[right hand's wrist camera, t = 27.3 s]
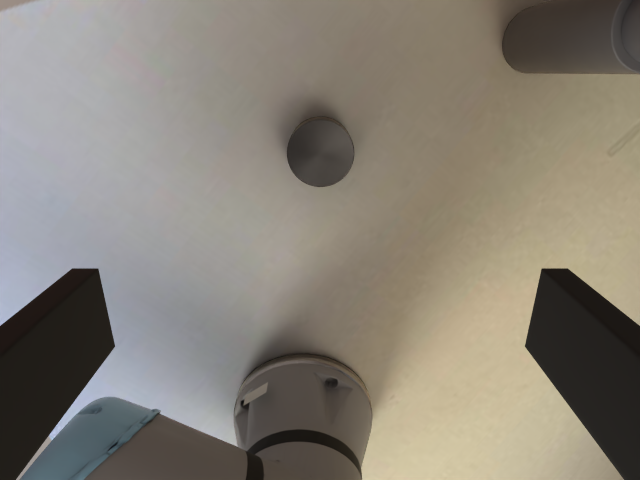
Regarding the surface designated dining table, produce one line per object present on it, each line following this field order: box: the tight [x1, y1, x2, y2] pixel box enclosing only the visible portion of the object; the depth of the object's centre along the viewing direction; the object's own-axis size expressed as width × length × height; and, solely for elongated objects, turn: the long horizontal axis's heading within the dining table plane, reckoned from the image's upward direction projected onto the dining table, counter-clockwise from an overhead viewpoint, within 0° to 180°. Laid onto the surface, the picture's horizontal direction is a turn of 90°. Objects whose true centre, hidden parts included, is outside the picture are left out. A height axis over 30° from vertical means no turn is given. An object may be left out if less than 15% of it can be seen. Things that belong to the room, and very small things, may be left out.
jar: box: [503, 0, 640, 74], centre depth 27 cm, size 5×5×16 cm
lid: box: [287, 117, 354, 187], centre depth 36 cm, size 6×6×2 cm
